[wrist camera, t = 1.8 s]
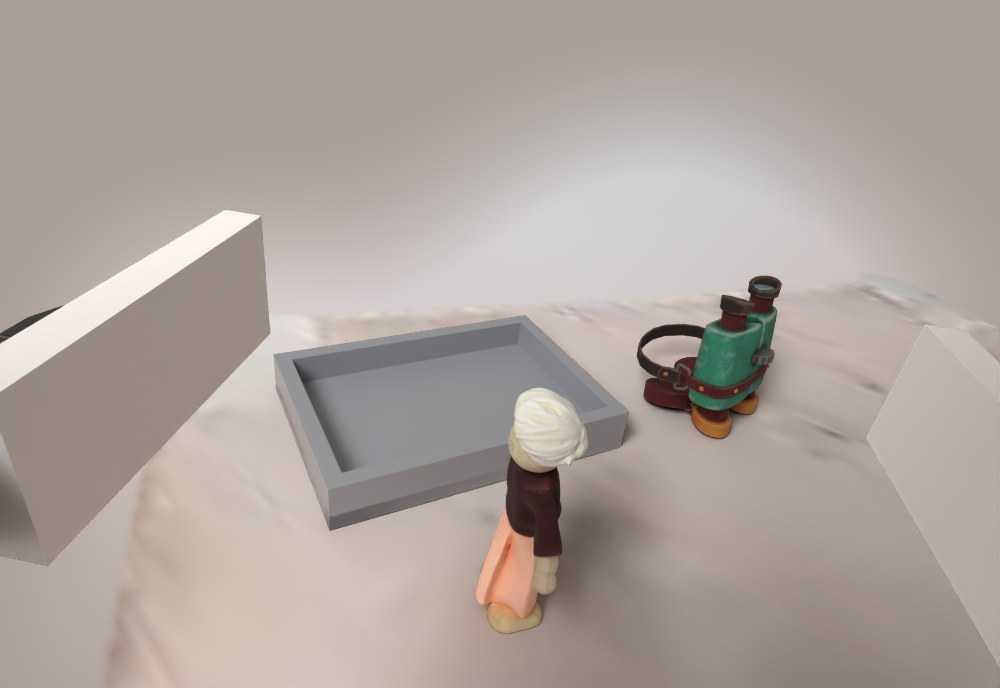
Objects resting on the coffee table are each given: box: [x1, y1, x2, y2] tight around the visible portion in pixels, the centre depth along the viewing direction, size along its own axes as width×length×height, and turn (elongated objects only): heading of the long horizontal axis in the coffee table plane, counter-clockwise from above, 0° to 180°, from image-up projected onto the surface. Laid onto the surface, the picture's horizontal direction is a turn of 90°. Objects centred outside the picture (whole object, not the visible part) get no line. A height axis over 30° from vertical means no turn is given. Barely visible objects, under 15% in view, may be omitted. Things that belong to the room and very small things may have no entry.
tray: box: [274, 315, 629, 530], centre depth 44 cm, size 20×14×3 cm
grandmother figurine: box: [475, 388, 588, 633], centre depth 29 cm, size 8×4×13 cm, turn 18°
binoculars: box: [637, 276, 782, 438], centre depth 48 cm, size 9×11×10 cm
